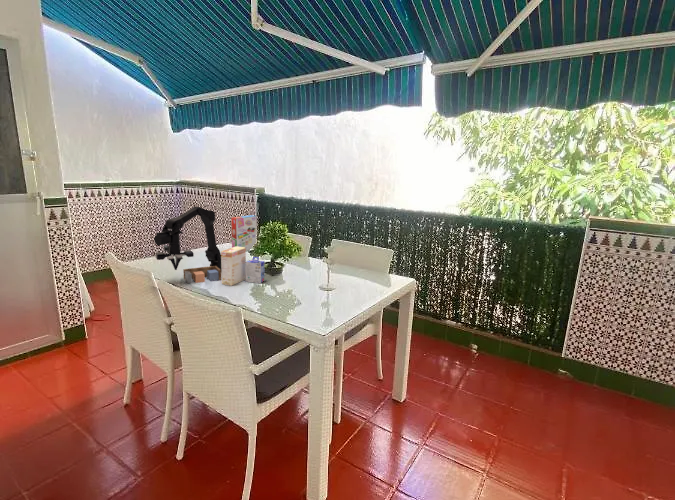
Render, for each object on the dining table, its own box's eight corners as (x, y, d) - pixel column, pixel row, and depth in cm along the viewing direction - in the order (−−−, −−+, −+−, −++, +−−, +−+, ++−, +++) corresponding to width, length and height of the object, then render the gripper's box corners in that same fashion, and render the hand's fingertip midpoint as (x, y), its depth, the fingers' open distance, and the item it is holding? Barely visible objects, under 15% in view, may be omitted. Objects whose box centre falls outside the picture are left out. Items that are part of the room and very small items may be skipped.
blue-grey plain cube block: (215, 277, 226) (215, 269, 225) (218, 280, 221) (218, 272, 220) (207, 278, 223) (206, 270, 222) (210, 281, 218) (209, 273, 217)
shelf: (216, 275, 230) (215, 265, 229) (221, 279, 222) (221, 270, 220) (183, 279, 220) (183, 269, 218) (187, 284, 211) (187, 273, 210)
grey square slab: (189, 280, 218) (188, 271, 216) (192, 283, 212) (191, 273, 211) (185, 280, 216) (184, 271, 215) (187, 283, 211) (187, 274, 210)
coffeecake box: (236, 277, 228) (235, 246, 223) (246, 279, 225) (246, 247, 221) (221, 284, 214) (220, 250, 210) (231, 286, 212) (231, 252, 207)
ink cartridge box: (264, 280, 223) (265, 257, 220) (261, 283, 218) (261, 259, 215) (249, 279, 225) (249, 255, 222) (245, 281, 220) (245, 257, 217)
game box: (252, 248, 306) (252, 215, 300) (256, 249, 303) (256, 215, 297) (231, 252, 290) (231, 217, 284) (236, 253, 287) (235, 218, 281)
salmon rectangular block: (202, 279, 221) (201, 271, 220) (204, 282, 217) (204, 273, 215) (193, 280, 219) (193, 272, 218) (195, 283, 214) (195, 274, 213)
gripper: (188, 238, 217) (189, 264, 221) (153, 240, 207) (154, 268, 210) (193, 242, 208) (194, 269, 212) (156, 244, 198) (158, 273, 201)
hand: (175, 269), depth 209 cm, fingers closed
